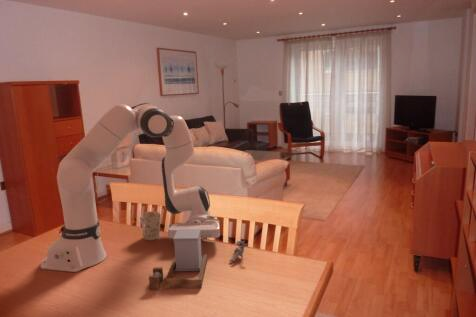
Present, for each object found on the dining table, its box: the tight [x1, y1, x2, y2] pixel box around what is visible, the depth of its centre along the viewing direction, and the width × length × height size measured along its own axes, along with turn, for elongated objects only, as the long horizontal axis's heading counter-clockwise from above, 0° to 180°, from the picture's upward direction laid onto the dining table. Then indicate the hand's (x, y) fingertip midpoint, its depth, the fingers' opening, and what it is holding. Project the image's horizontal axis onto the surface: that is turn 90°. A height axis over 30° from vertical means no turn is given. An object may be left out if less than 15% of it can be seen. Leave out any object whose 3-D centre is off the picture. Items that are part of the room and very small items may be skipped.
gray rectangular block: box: [172, 229, 203, 272], centre depth 125 cm, size 8×7×12 cm
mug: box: [139, 210, 161, 241], centre depth 148 cm, size 8×13×10 cm, turn 174°
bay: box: [148, 254, 208, 291], centre depth 121 cm, size 16×19×4 cm
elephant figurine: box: [229, 240, 249, 264], centre depth 130 cm, size 10×6×9 cm
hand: (191, 239), depth 133 cm, fingers closed
